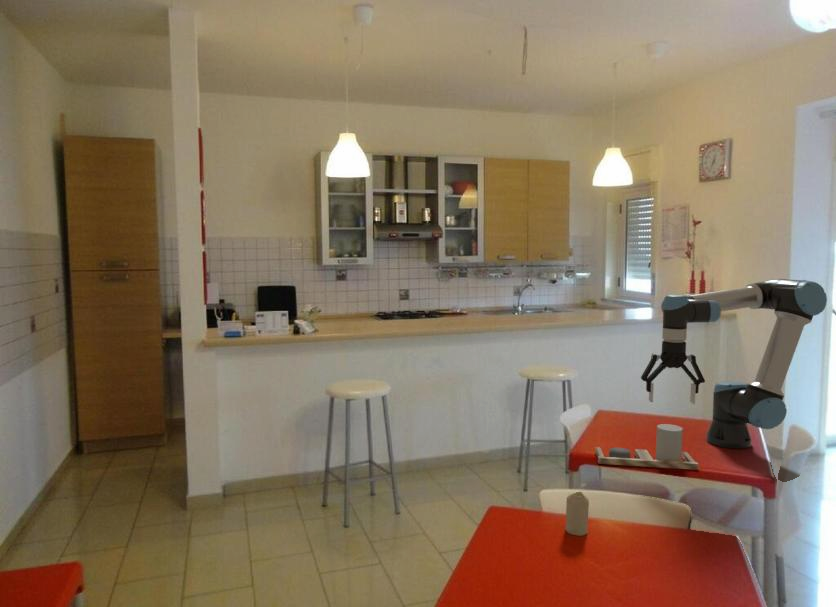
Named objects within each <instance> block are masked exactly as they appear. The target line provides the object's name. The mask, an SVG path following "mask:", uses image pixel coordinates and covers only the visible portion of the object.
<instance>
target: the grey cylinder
mask: <svg viewBox="0 0 836 607" xmlns="http://www.w3.org/2000/svg"><path fill="white" fill-rule="evenodd" d="M683 432H684V428H683V427H681V426H679V425H676V424H670V423H669V424H668V423H661V424H660V423H659V424H657V425H656V443H655V459H654V460H666V461H682V452H683V450H682V449H683Z"/></svg>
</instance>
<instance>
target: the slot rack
mask: <svg viewBox="0 0 836 607" xmlns="http://www.w3.org/2000/svg"><path fill="white" fill-rule="evenodd" d="M595 454H596V457H597V463H598V464H601V465H616V466H617V465H618V466H628V467H630V466H631V467H645V468H646V467H648V468H662V469H663V468H664V469H679V470H680V469H681V470H695V471H698V470H699V463H698V462H696V461H695V460H694V459H693V457H692V456H691V455H690V454H689V453H688V452H687V451H682V453H681V459H682V460H684V461H682V460H681V461H666V460H655V459H653V457H652V456H651V454H650V453H649V451H648V450H647V449H639V448H638V449H636V448H635V449H634V456H635V457H636V458H633V457H632V458H631V457H630V458H616V457H609V456H605V455H604V453H603V450H602V448H601V447H600V446H595Z"/></svg>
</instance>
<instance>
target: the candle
mask: <svg viewBox="0 0 836 607" xmlns="http://www.w3.org/2000/svg"><path fill="white" fill-rule="evenodd" d="M589 503H590V500H589V499H588V497H587V496H586V495H585V494H584V493H583V492H582V491H577V492H575V493H570V494H569V495H568V496H567V497H566V509H565V511H566V512H565V531H566V532H567V533H568V534H570V535H573V536H582V537H583V536H585V535H587V534H588V530H589V529H588V528H589V506H590V505H589Z"/></svg>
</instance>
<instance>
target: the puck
mask: <svg viewBox="0 0 836 607" xmlns="http://www.w3.org/2000/svg"><path fill="white" fill-rule="evenodd" d="M608 452H609V454H608V457H616V458H631V452H632V451H630V449H628V448H623V447H611V448H610V449H609V450H608Z"/></svg>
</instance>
